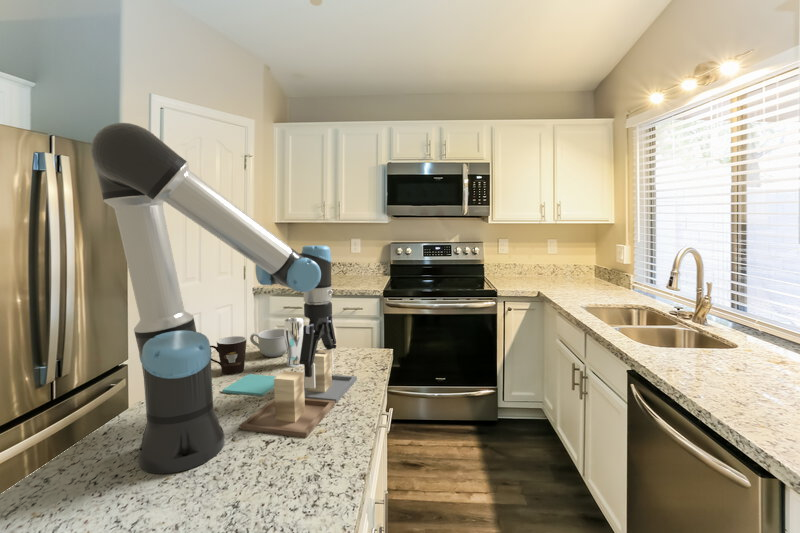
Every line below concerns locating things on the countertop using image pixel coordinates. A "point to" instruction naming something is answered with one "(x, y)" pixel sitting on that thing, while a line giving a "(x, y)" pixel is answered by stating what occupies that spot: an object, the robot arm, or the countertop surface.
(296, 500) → the countertop surface
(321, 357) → the letter block
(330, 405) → the walnut tray
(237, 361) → the coffee mug
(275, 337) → the teacup
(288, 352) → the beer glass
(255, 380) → the teal mat
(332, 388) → the grey tray
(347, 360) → the countertop surface
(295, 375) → the plain block
